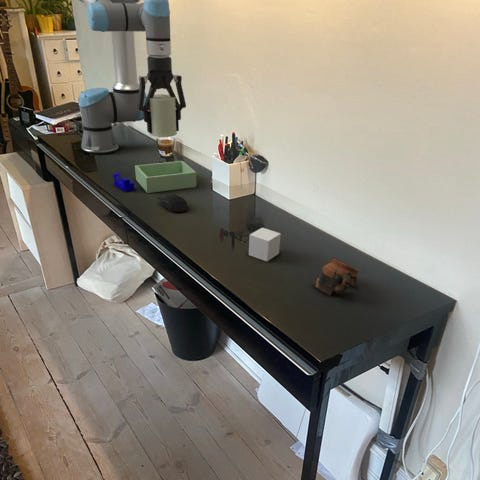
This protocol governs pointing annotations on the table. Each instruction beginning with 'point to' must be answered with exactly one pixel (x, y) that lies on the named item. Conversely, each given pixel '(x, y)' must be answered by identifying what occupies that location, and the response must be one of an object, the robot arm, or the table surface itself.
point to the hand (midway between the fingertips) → (163, 131)
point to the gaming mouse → (174, 203)
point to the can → (163, 115)
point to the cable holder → (123, 183)
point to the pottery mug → (339, 284)
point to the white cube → (264, 244)
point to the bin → (165, 176)
